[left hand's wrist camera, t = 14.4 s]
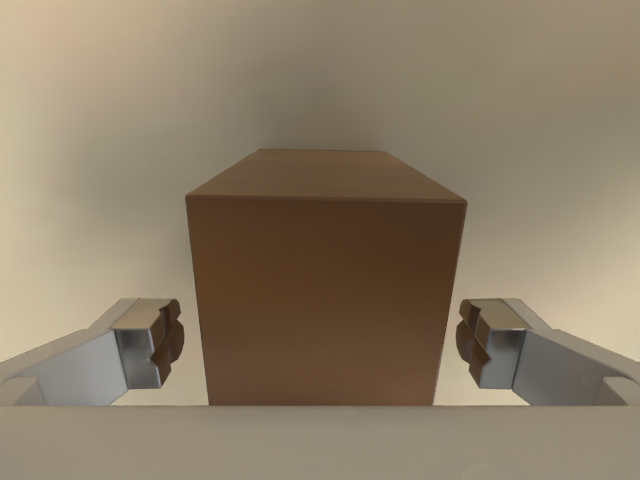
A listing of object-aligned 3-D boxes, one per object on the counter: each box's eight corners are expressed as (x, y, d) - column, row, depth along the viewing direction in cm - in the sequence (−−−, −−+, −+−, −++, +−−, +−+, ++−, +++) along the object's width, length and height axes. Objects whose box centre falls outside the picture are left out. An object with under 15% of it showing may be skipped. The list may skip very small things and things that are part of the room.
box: (258, 148, 17) (182, 194, 8) (386, 151, 17) (470, 199, 8) (272, 512, 26) (246, 738, 17) (356, 513, 26) (376, 739, 17)
